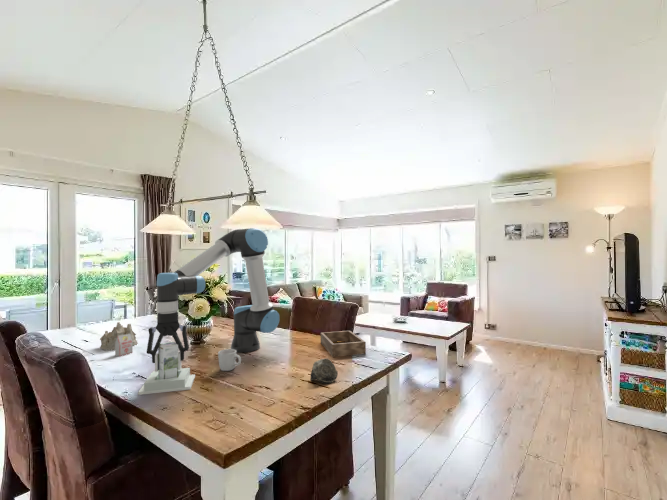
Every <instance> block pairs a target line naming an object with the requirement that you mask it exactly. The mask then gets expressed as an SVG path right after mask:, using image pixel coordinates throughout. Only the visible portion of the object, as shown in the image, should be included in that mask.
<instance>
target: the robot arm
mask: <svg viewBox="0 0 667 500" xmlns="http://www.w3.org/2000/svg"><path fill="white" fill-rule="evenodd" d="M268 245H269V241H268V236H267V234H266V233H265V232H264V231H263V230H261V229H260V228H253V227H250V228H239V229H233V230H231V231H229V232H227V233H225V234H224V235H223V236H221V237H220V238H218V239H217V240H215V242H214V244H213V245H211V246H210V247H209V248H207V249H206V250H205V251H203V252H202V253H200V254H199V255H197V256H196V257H194V258H193V259H191V260H190V261H189V262H187V263H185V264H183V266H181V267H180V268H178V269H177V270H175V271H173V272H160V273H158V274H157V277H156V300H157V301H156V309H157V310H156V311H157V314H156V318H157V320H156V321H157V322H156V323H157V324H156V326H150V327H149V328H148V340H147V346H146V354H148V355H151V362H152V364H154V371H155V372H158V371H159V362H158V347H159V344H162V343H161V342H162V341H163V338H164V337H167V336H170V337H171V336H172V338H173V340H174V342H175V343H176V344H178V370H180V369H181V368H182V361H184V359H185V352H187V351H189V349H190V344H189V340H188V334H187V328H188V326H187V324H184V325H182V324H180V323H179V311H178V310H179V296H184V295H185V296H186V295H193V294H194V295H196V294H200V293H202V292H204V290H205V289H206V280H205V278H204V277H203V276H202V275H201V274H202V273H204V272H205V271H206V270H209V268H210V267H212V266H213V265H215V264H216V263H217V262H219V261H220V260H222V259H223V258H224V257H229V256H230V255H231V254H234V253H240V257H241V258H242V259H243V260H244V262H245V267H246V268H245V269H246V273H247V280H248V284H249V285H248V286H249V291H250V293H249V294H250V297H251V298H250V299H251V304H249V305H242V306H237V307H235V308H234V309H233V310H234V311H233V330H234V331H233V338H232V341H231V344H230V349H234V350H236V351H237V353H248V352H254V351H257V350H259V349H260V347H261V345H260V344H261V343H260V341H259V337H258V334H257V332H260V333H263V334H264V333H265V334H266V333H267V334H268V333H269V334H271V333H272V332H274V331H275V330H276V329H277V328H278V326H279V324H280V313H279V312H278V311H277V310H276V309H274V304H273V303H272V302H270V298H269V291H268V287H267V286H268V285H267V280H266V279H267V278H266V272H265V267H264V260H263V256H264V255H265V253H266V252H265V251H266V249H267V248H268ZM179 329H180V331H181V335H182V340H183V343H182V341H181V339H180V337H179V334H178V332H177V331H179ZM156 330H157V332H159V335H158V338H157V340H156V343H155V345H154V347H153V343H154V336H155V333H156ZM183 345H184V346H183Z"/></svg>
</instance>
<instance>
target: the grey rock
mask: <svg viewBox="0 0 667 500" xmlns="http://www.w3.org/2000/svg"><path fill="white" fill-rule="evenodd" d="M126 334H131V338H132V347H135V346H134V345H136V346H137V344H139V343H138V340H137V337H136V335H137V333H135V332H134V331H133V328H132V323H127V324H126V327H125V326H123V325H122V324H121V323H120V322H119V321H118V322H117V323H116V326H114V327H113V328H112V330H111V331H109V332H108V330H105V331H104V333H103V335H102V336H101V337H100V339H99V340H100V343H101V345H100V346H99V348H100V349H101V350H103V351H115V343H116V339H117V336H121V335H126Z"/></svg>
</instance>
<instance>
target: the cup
mask: <svg viewBox="0 0 667 500" xmlns="http://www.w3.org/2000/svg"><path fill="white" fill-rule="evenodd" d="M237 353H238V352H237V351H236V350H234V349H231V348H226V349H221V350H219V351H217V358H218V365H219V369H220V371H222V372H229V371H233V370H234V369H235V368H236V366H240V365H241V362H242V358H241V356H240V355H239V354H237ZM237 359H238V362H237Z"/></svg>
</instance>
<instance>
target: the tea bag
mask: <svg viewBox="0 0 667 500" xmlns="http://www.w3.org/2000/svg"><path fill="white" fill-rule="evenodd" d="M130 353H131V354H133V353H134V351H133V346H132V338H131V334H126V335H121V336H117V339H116V343H115V350H114V355H115V356H116V357H123V356H127V355H130ZM126 354H127V355H126ZM122 355H123V356H122Z"/></svg>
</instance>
